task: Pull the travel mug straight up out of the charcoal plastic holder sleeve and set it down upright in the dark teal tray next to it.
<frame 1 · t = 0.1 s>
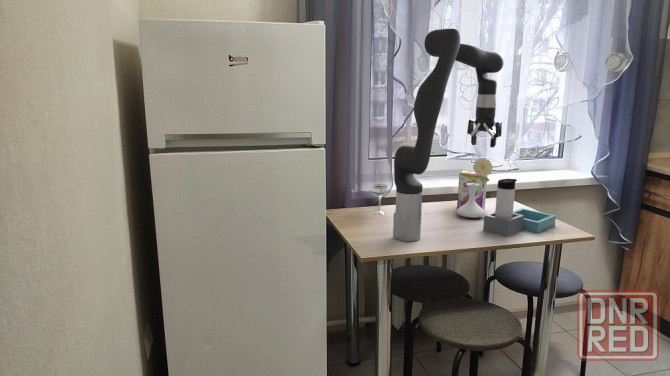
hand: (482, 146, 191), 29 cm above the table, tool pointing down, fingers open, 8 cm apart
wineglass: (379, 213, 201), on the table
flower in vase: (472, 216, 195), on the table
holder sleeve: (502, 230, 178), on the table
tray: (528, 224, 184), on the table
candy bar box: (470, 209, 206), on the table
travel mug: (502, 230, 178), resting in holder sleeve
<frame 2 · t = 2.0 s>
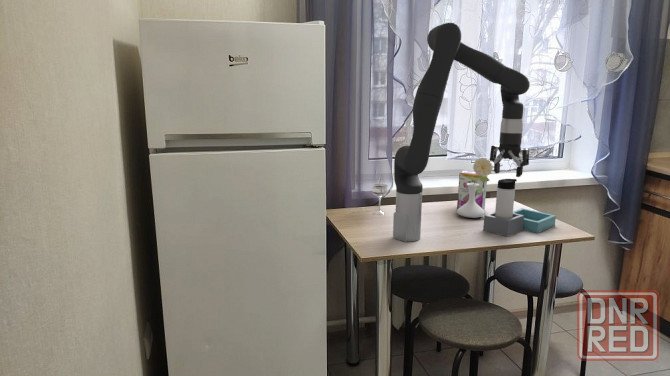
hand: (507, 174, 173), 22 cm above the table, tool pointing down, fingers open, 8 cm apart
nothing on the table moved.
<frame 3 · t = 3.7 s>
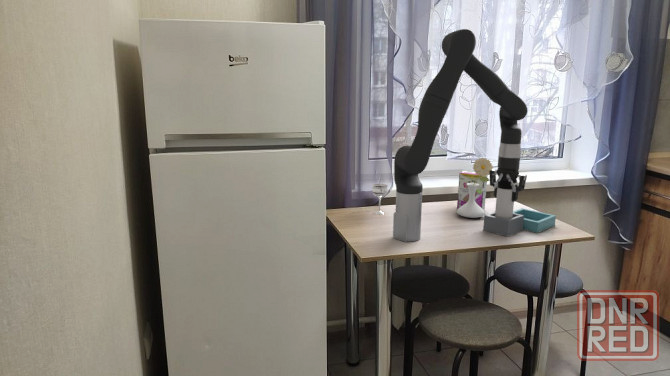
hand: (505, 199, 175), 12 cm above the table, tool pointing down, fingers closed on travel mug, 6 cm apart
travel mug: (502, 230, 178), resting in holder sleeve, touching gripper
everything else where it was.
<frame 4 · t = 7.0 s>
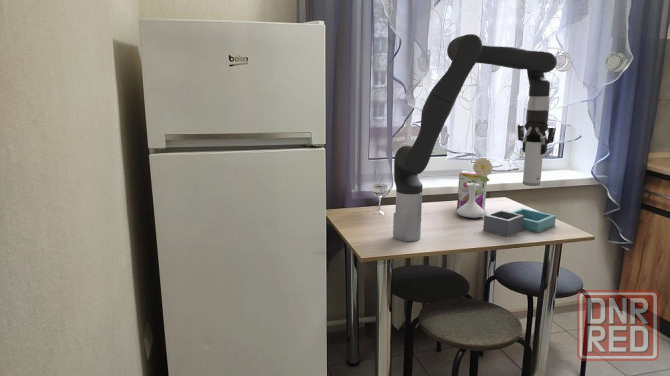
hand: (534, 153, 177), 29 cm above the table, tool pointing down, fingers closed on travel mug, 6 cm apart
travel mug: (531, 184, 180), point 16 cm above the table, touching gripper
everything else where it was.
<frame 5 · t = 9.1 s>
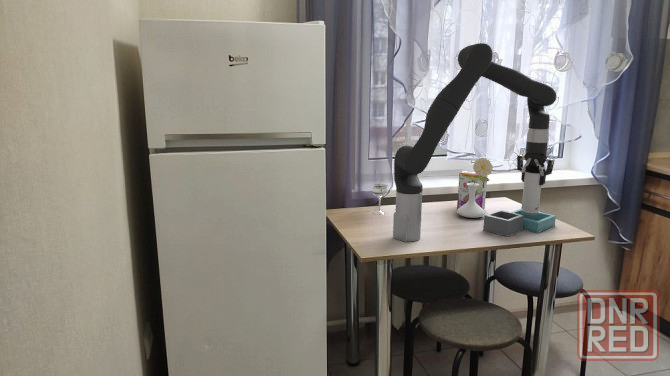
hand: (532, 183, 180), 17 cm above the table, tool pointing down, fingers closed on travel mug, 6 cm apart
travel mug: (529, 214, 183), point 4 cm above the table, touching gripper
everything else where it was.
when the fingers open (14 cm above the table, at t = 10.6 s): travel mug drops 1 cm, resting on tray.
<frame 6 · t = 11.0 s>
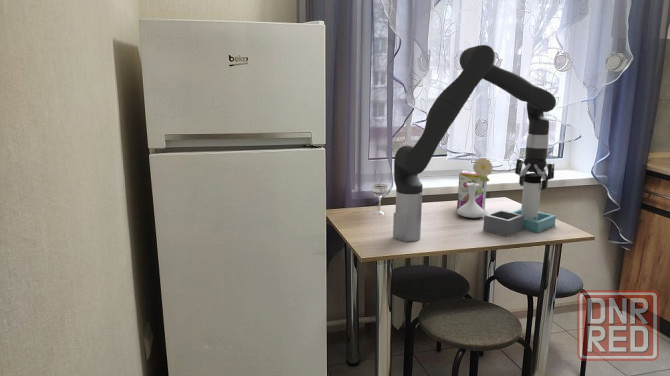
hand: (532, 187, 181), 15 cm above the table, tool pointing down, fingers open, 8 cm apart
travel mug: (529, 223, 184), point 1 cm above the table, touching tray
everything else where it was.
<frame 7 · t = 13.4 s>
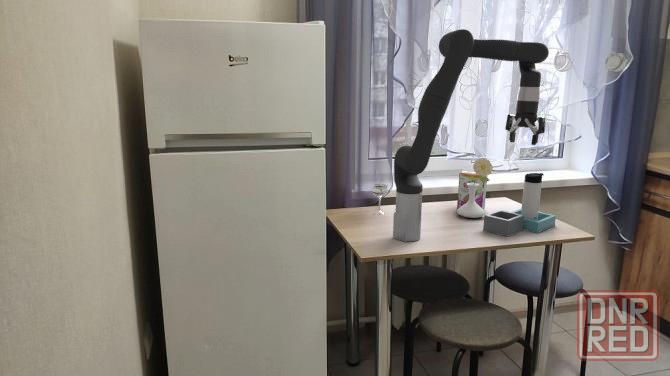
hand: (522, 143, 176), 32 cm above the table, tool pointing down, fingers open, 8 cm apart
nothing on the table moved.
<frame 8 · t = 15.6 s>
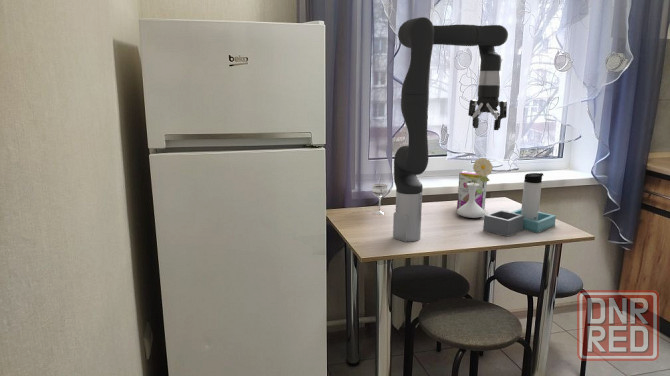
hand: (485, 129, 172), 38 cm above the table, tool pointing down, fingers open, 8 cm apart
nothing on the table moved.
at the end: travel mug inside the target area on the tray (0.1 cm from its centre), point 0.6 cm above the tray's base; travel mug tilted 0°; the gripper is holding nothing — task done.
